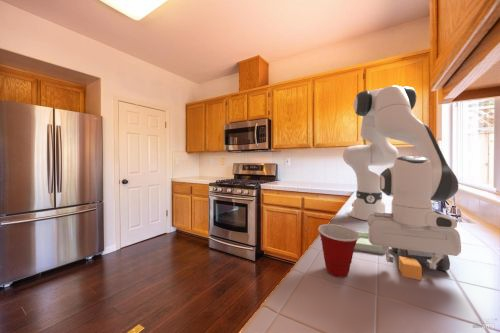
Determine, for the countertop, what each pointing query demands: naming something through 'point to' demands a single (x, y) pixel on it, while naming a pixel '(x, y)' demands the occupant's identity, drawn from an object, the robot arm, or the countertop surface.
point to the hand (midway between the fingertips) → (409, 264)
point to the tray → (367, 244)
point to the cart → (442, 264)
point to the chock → (410, 268)
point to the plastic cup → (338, 248)
